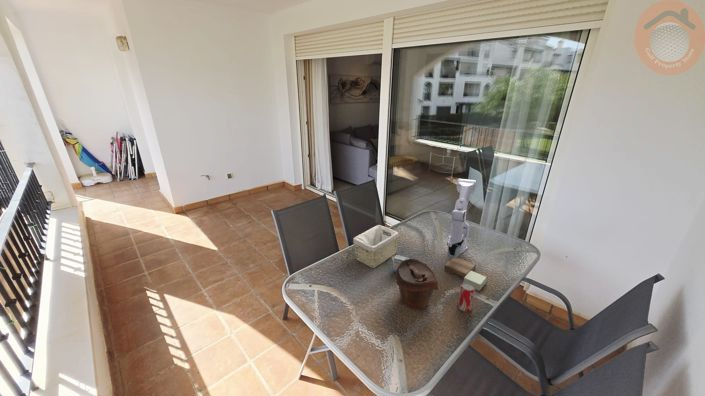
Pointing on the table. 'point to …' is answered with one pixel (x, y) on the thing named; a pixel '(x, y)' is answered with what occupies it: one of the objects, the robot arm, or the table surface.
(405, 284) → the brown lidded pot
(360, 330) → the table surface
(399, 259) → the medicine box
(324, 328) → the table surface
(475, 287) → the sage block
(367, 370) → the table surface
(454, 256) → the slate block
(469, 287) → the beverage can
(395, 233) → the storage basket
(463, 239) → the robot arm
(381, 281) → the table surface
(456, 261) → the walnut block
